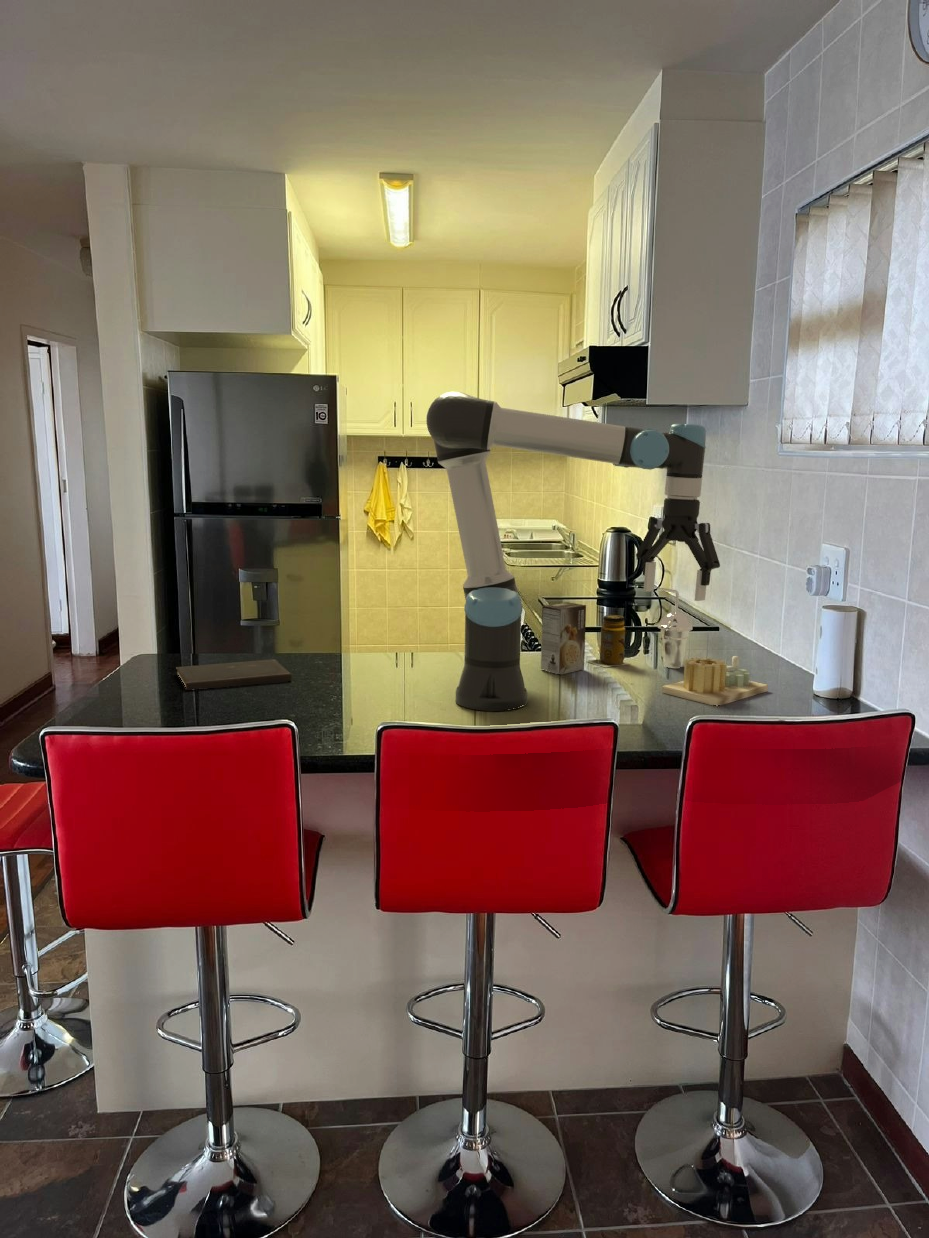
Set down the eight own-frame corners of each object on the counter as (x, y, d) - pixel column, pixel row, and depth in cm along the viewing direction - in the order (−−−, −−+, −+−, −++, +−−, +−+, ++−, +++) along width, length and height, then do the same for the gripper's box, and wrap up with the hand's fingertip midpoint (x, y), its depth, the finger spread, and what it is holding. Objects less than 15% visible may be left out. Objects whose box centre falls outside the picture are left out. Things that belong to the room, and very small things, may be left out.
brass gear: (709, 696, 192) (711, 668, 191) (675, 687, 198) (677, 661, 197) (732, 689, 197) (734, 662, 196) (698, 681, 204) (700, 655, 203)
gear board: (716, 706, 189) (717, 699, 189) (662, 692, 200) (662, 686, 199) (767, 691, 202) (767, 684, 202) (713, 678, 213) (713, 672, 212)
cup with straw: (688, 671, 220) (693, 590, 216) (651, 668, 222) (655, 588, 219) (691, 664, 228) (696, 585, 224) (655, 660, 230) (659, 583, 227)
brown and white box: (565, 665, 224) (567, 601, 221) (584, 669, 220) (587, 605, 217) (539, 670, 218) (541, 605, 215) (559, 675, 214) (561, 608, 211)
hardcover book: (176, 676, 209) (176, 667, 208) (275, 668, 218) (274, 659, 218) (186, 693, 194) (186, 683, 194) (291, 683, 204) (291, 673, 204)
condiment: (630, 664, 227) (633, 617, 224) (605, 668, 222) (607, 620, 220) (611, 658, 233) (613, 612, 230) (586, 662, 228) (588, 615, 226)
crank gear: (734, 688, 198) (736, 664, 197) (701, 680, 205) (702, 657, 204) (756, 682, 204) (757, 659, 203) (722, 675, 210) (724, 652, 209)
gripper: (743, 502, 186) (732, 603, 190) (646, 494, 205) (639, 586, 209) (722, 502, 181) (712, 605, 185) (625, 493, 200) (618, 588, 204)
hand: (673, 595), depth 197 cm, fingers open, 13 cm apart
